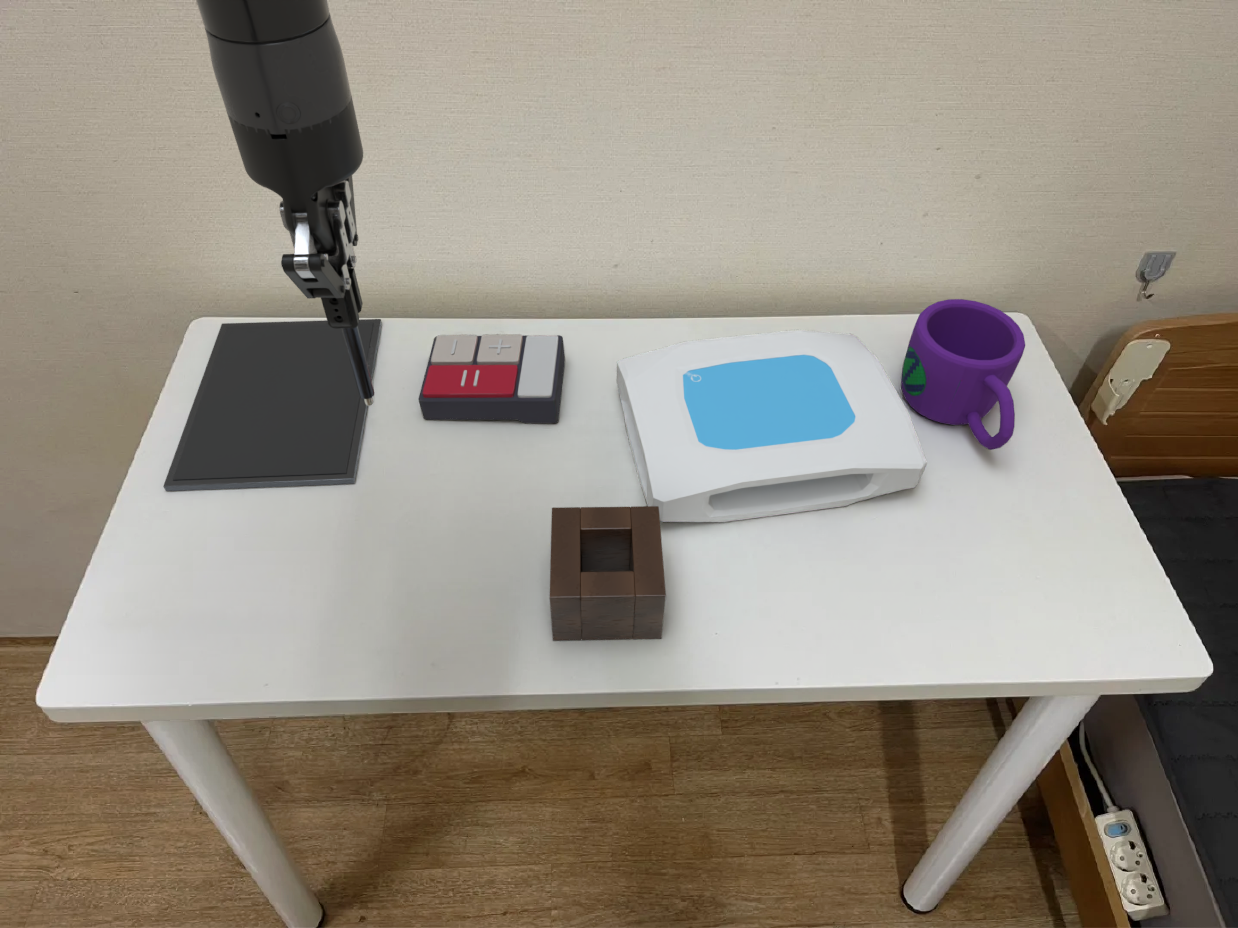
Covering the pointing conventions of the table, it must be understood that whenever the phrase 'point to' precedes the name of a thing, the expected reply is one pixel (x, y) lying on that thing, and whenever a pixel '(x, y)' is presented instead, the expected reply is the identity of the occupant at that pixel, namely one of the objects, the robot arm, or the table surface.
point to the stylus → (358, 363)
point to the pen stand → (606, 573)
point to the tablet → (275, 409)
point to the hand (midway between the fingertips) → (346, 317)
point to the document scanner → (765, 426)
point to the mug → (963, 366)
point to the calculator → (494, 378)
